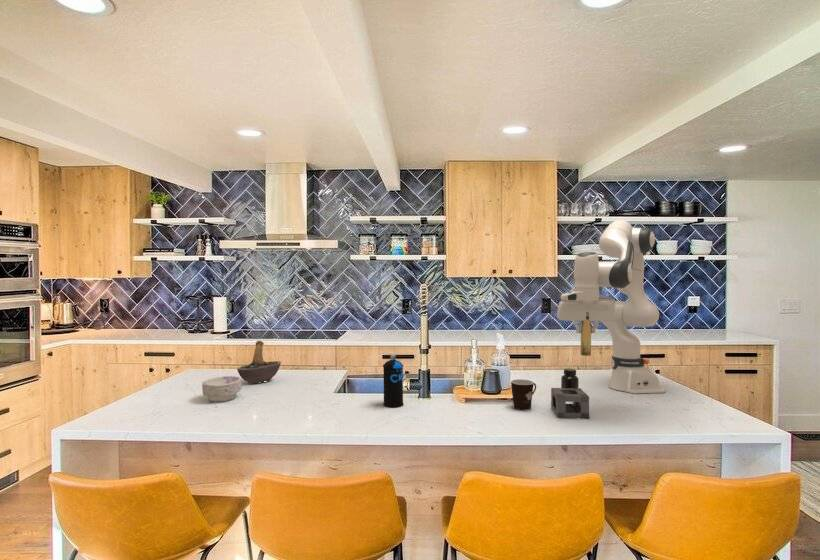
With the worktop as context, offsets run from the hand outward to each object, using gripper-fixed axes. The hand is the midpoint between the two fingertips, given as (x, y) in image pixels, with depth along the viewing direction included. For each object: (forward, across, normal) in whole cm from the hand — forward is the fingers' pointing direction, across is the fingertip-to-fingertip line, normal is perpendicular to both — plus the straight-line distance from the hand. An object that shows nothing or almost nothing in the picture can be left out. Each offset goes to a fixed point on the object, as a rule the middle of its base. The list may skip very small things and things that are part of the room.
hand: (585, 333), depth 165 cm
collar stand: (+30, +6, 0) cm, 31 cm away
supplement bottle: (+30, 0, -20) cm, 36 cm away
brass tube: (+8, 0, 0) cm, 8 cm away
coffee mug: (+30, +20, -6) cm, 37 cm away
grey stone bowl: (+32, +146, -8) cm, 149 cm away
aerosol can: (+31, +72, -6) cm, 79 cm away
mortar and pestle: (+31, +141, -35) cm, 149 cm away
